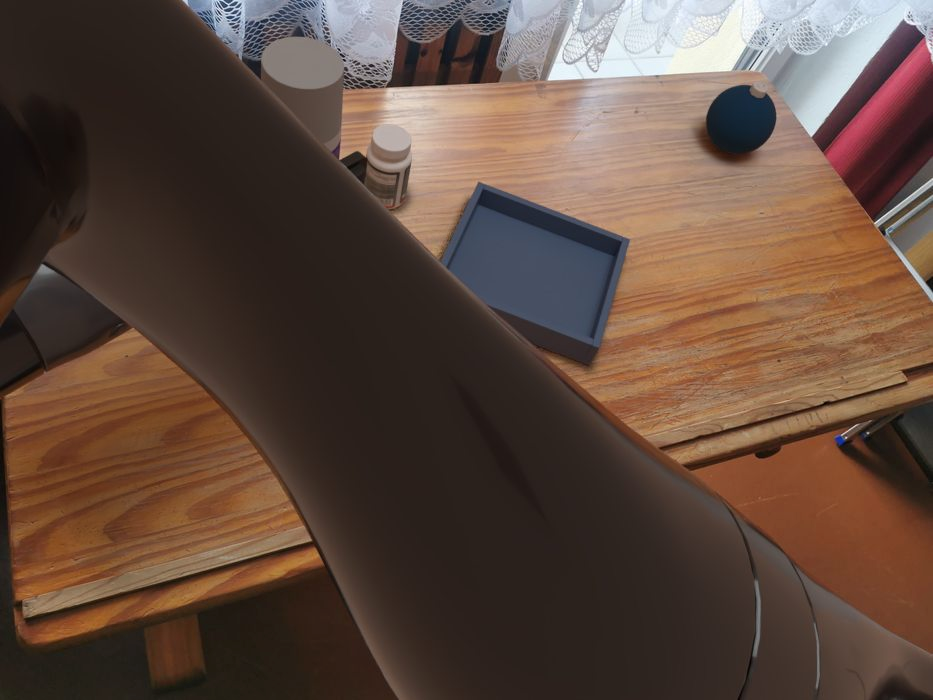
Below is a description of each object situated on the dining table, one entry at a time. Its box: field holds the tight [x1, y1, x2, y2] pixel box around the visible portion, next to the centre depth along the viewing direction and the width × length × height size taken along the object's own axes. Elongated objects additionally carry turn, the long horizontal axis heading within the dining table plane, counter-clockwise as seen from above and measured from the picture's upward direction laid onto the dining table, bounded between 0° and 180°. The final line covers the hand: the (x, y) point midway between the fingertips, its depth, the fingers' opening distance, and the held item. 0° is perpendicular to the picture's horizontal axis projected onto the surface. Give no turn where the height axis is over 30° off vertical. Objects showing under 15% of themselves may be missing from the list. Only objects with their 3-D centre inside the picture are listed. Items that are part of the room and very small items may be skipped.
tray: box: [439, 181, 631, 366], centre depth 81 cm, size 18×16×3 cm
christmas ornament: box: [705, 81, 777, 155], centre depth 97 cm, size 8×8×10 cm
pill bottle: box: [364, 123, 413, 210], centre depth 82 cm, size 5×5×8 cm
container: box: [260, 36, 345, 160], centre depth 48 cm, size 5×5×15 cm
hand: (333, 141), depth 49 cm, fingers closed on container, 4 cm apart
